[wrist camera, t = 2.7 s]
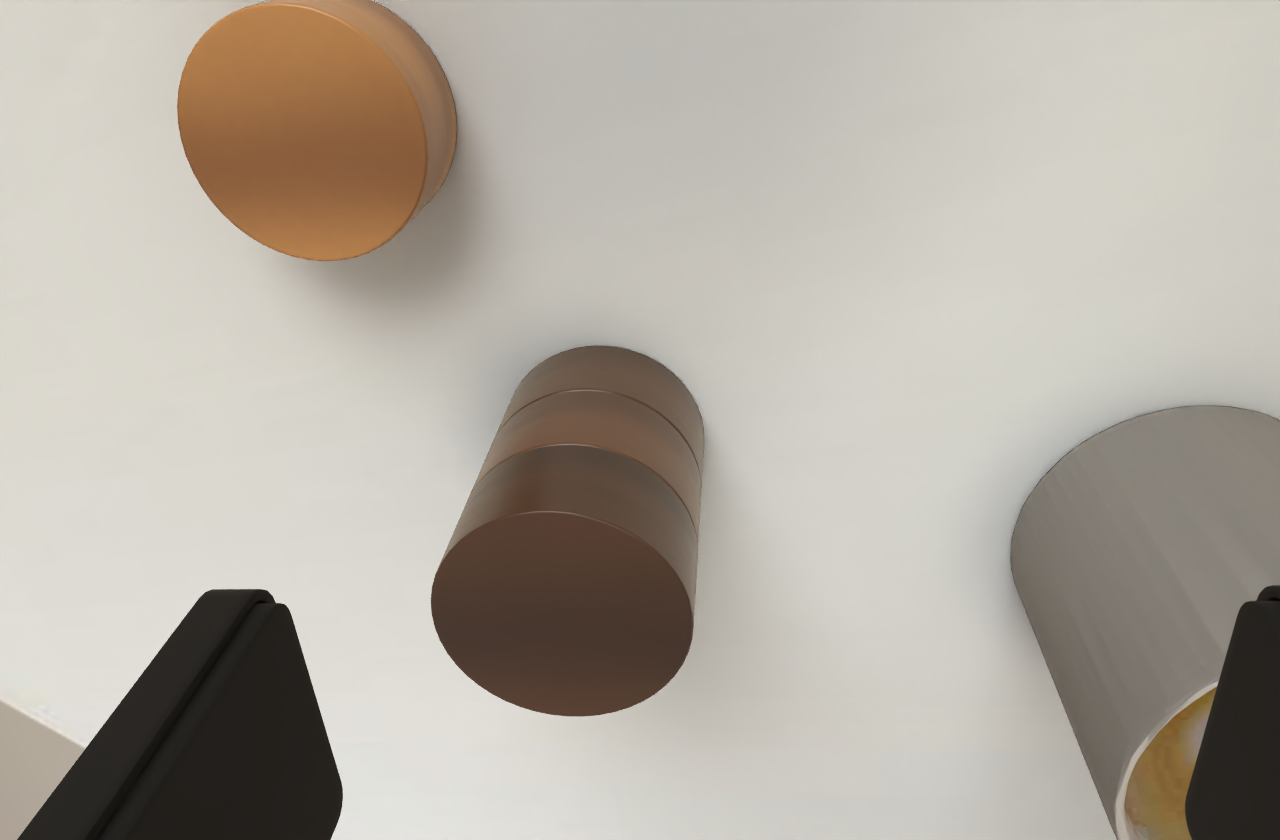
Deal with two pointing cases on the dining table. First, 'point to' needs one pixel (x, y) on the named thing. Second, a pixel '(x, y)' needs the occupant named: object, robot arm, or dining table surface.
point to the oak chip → (316, 124)
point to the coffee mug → (1149, 591)
